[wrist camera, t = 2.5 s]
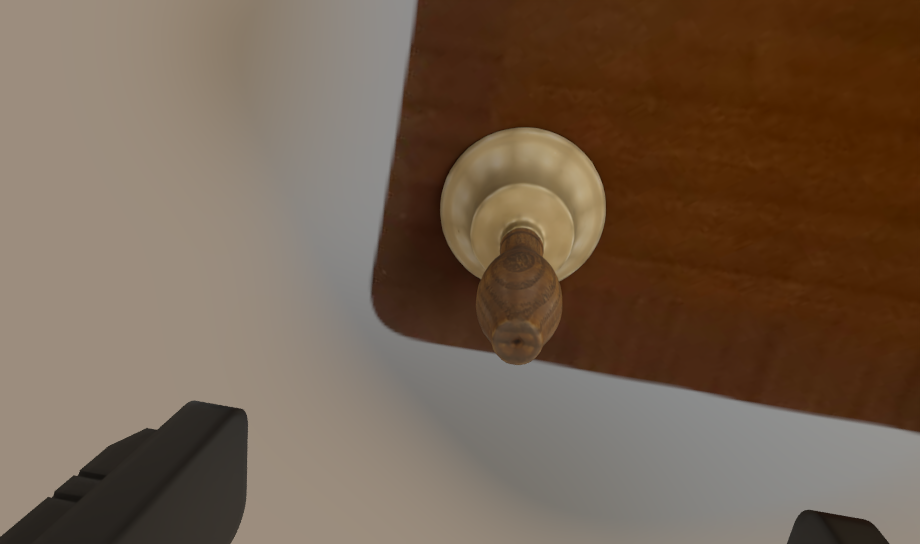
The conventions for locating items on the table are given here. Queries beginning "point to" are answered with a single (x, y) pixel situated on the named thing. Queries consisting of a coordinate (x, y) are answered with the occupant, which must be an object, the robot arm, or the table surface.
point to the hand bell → (522, 230)
